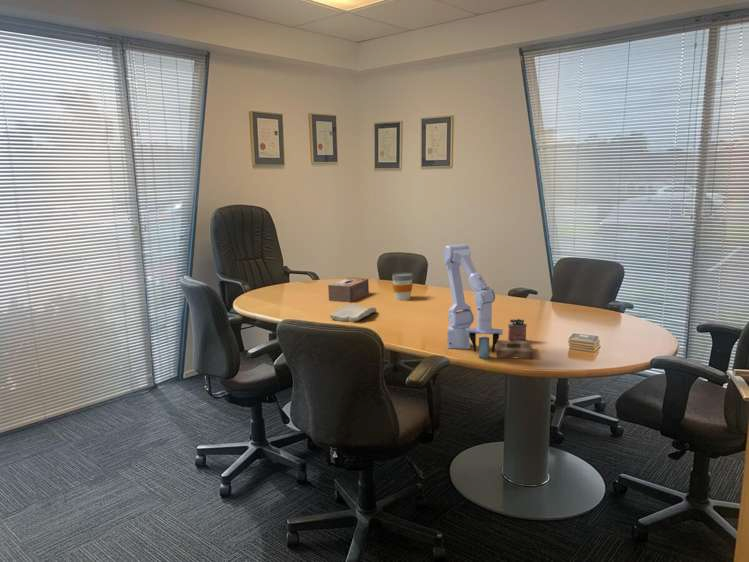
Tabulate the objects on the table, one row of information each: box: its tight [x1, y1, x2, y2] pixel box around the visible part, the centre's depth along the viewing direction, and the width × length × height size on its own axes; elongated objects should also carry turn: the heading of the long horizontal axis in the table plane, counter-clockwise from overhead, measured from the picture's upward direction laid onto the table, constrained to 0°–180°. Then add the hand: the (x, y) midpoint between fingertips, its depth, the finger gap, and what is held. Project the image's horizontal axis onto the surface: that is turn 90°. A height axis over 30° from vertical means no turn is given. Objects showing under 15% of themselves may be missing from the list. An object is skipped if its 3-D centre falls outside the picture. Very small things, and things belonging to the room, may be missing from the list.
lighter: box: [507, 318, 527, 341], centre depth 238 cm, size 8×3×10 cm, turn 92°
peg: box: [478, 336, 490, 359], centre depth 218 cm, size 4×4×8 cm
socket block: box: [495, 339, 534, 359], centre depth 223 cm, size 14×14×3 cm
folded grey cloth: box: [329, 303, 377, 323], centre depth 289 cm, size 24×8×20 cm
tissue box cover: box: [327, 277, 370, 303], centre depth 336 cm, size 26×14×10 cm, turn 155°
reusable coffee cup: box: [391, 272, 414, 301], centre depth 327 cm, size 13×13×15 cm
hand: (484, 351), depth 219 cm, fingers open, 6 cm apart
